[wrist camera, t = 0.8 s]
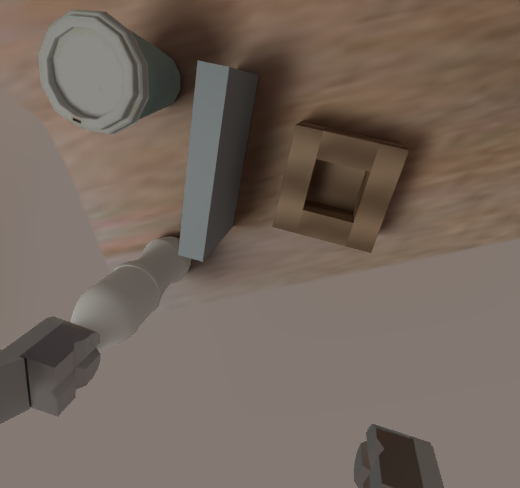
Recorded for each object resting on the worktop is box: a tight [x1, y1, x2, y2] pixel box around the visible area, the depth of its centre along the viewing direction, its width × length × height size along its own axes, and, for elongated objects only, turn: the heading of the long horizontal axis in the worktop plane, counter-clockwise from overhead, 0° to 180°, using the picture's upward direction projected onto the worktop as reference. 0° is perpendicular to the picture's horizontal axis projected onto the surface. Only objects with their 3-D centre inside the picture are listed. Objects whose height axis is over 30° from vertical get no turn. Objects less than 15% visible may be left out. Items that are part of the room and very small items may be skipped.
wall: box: [178, 61, 259, 262], centre depth 40 cm, size 20×3×12 cm, turn 169°
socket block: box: [273, 121, 409, 253], centre depth 41 cm, size 12×12×6 cm
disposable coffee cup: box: [38, 10, 180, 134], centre depth 37 cm, size 11×11×15 cm
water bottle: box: [70, 236, 191, 350], centre depth 42 cm, size 7×7×25 cm
